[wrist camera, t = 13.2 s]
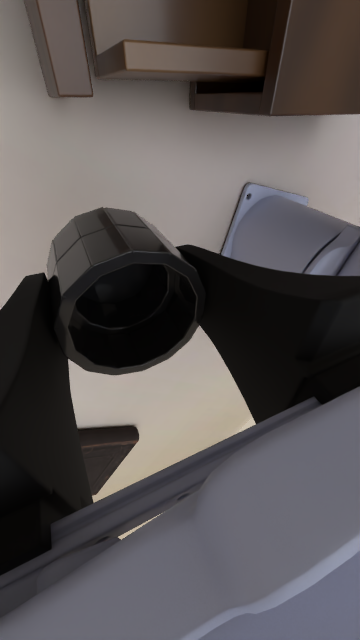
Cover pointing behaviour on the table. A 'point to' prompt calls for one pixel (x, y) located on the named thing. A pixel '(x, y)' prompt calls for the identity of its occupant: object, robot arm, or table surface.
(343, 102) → the cabinet
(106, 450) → the hardcover book
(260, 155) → the table surface
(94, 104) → the table surface
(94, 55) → the drawer
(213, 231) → the table surface
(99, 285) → the cup
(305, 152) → the table surface
